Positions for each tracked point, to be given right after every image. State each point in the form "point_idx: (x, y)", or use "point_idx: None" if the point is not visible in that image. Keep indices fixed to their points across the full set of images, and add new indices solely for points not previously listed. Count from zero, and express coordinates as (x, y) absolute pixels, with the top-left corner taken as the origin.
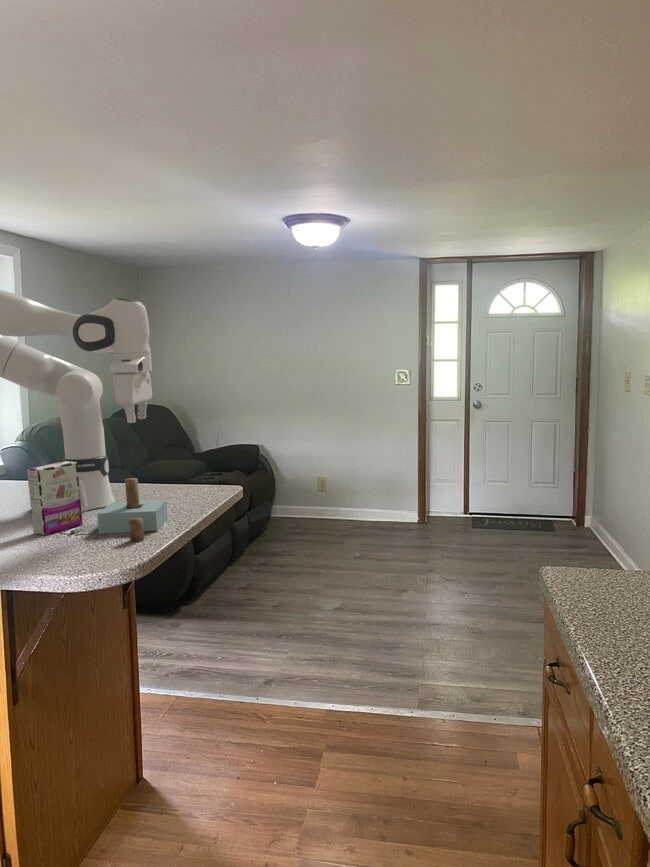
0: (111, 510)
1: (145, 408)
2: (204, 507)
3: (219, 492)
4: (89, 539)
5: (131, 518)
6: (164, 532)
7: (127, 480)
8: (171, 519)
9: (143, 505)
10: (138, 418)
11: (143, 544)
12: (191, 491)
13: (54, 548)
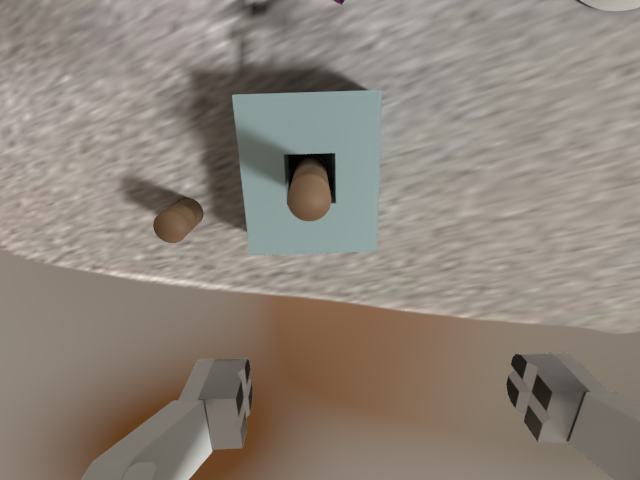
0: (268, 127)
1: (606, 471)
2: (469, 291)
3: (634, 297)
4: (193, 89)
5: (176, 214)
6: None
7: (289, 192)
8: None
9: None
10: (515, 355)
11: None
12: None
13: (108, 19)
